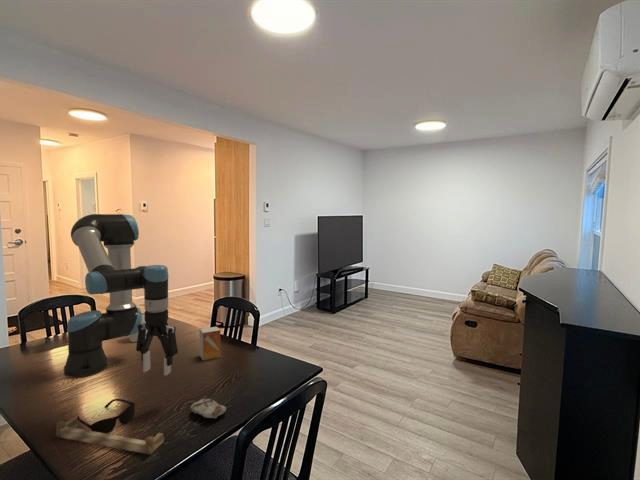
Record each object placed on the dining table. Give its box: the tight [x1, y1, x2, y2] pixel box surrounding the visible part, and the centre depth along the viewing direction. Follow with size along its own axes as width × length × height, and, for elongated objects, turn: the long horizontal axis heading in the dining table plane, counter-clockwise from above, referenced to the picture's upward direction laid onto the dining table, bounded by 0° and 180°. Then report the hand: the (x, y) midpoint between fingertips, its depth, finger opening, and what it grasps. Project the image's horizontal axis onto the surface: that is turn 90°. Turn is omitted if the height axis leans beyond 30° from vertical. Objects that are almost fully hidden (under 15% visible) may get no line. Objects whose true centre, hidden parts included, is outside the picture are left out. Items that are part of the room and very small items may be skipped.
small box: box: [199, 326, 221, 362], centre depth 158 cm, size 8×6×13 cm
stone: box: [190, 397, 227, 419], centre depth 113 cm, size 12×9×3 cm
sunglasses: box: [76, 398, 136, 434], centre depth 109 cm, size 14×16×5 cm
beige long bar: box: [56, 417, 165, 456], centre depth 100 cm, size 32×6×4 cm, turn 77°
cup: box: [128, 312, 148, 343], centre depth 176 cm, size 8×8×14 cm
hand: (157, 371), depth 122 cm, fingers open, 8 cm apart
